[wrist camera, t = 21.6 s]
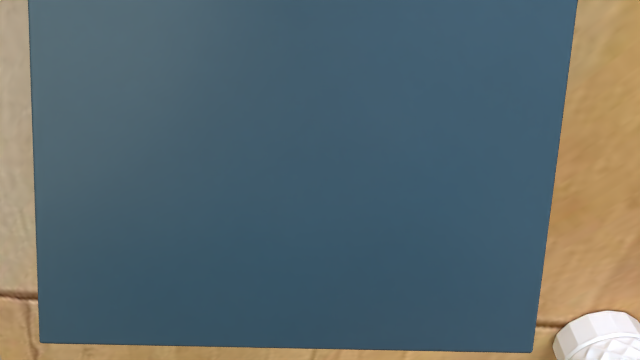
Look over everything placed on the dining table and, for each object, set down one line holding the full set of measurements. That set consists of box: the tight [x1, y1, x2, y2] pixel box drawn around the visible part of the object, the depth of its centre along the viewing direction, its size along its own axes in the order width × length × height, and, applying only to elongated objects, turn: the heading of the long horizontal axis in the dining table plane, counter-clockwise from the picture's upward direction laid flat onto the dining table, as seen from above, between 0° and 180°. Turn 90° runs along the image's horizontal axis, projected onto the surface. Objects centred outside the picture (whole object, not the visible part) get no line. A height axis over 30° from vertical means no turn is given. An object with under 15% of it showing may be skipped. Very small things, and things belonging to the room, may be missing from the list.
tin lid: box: [28, 0, 578, 353], centre depth 15 cm, size 16×14×1 cm
